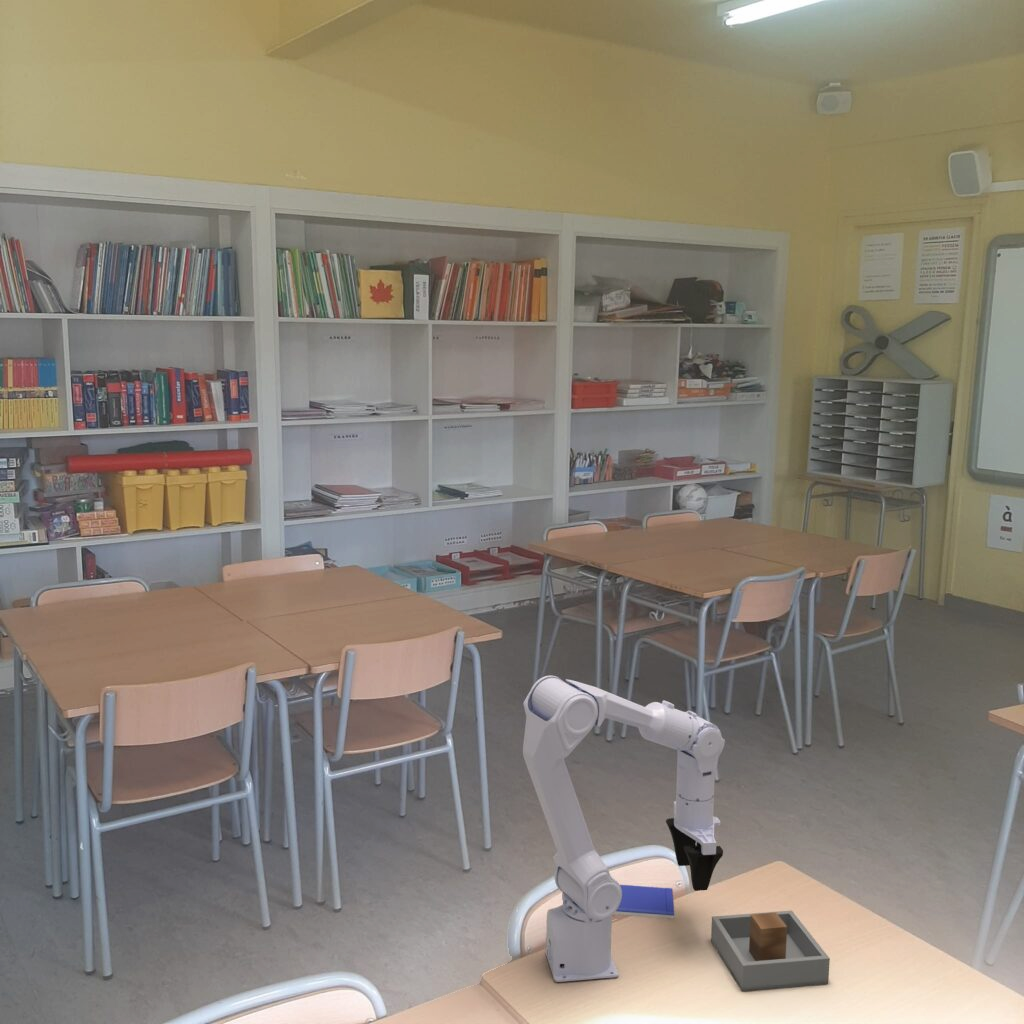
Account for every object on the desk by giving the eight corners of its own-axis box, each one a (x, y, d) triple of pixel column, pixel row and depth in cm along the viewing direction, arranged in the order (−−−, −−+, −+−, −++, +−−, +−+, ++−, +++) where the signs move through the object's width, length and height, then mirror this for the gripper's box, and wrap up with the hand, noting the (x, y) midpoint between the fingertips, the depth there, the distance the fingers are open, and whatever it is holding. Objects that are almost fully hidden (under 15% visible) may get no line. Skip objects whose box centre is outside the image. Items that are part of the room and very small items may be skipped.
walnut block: (759, 967, 149) (761, 929, 148) (749, 951, 153) (750, 914, 152) (785, 964, 150) (787, 926, 149) (774, 949, 154) (776, 912, 153)
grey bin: (742, 991, 144) (743, 965, 144) (710, 940, 157) (711, 916, 156) (828, 984, 146) (829, 958, 146) (790, 934, 159) (791, 910, 158)
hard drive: (596, 907, 164) (674, 912, 163) (598, 881, 172) (672, 886, 171) (596, 916, 165) (673, 921, 163) (598, 890, 173) (672, 895, 171)
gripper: (737, 812, 149) (733, 899, 151) (704, 773, 163) (701, 852, 165) (691, 815, 148) (688, 902, 150) (661, 775, 162) (659, 855, 164)
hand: (692, 876), depth 158 cm, fingers open, 7 cm apart
